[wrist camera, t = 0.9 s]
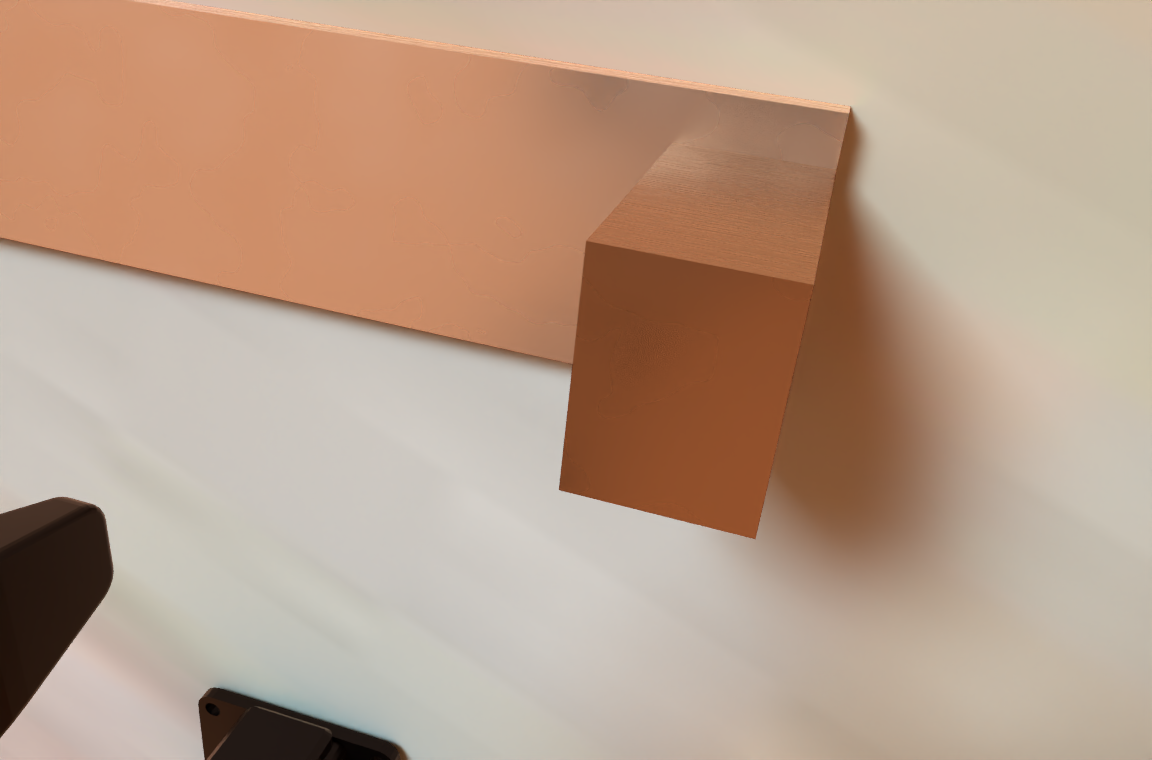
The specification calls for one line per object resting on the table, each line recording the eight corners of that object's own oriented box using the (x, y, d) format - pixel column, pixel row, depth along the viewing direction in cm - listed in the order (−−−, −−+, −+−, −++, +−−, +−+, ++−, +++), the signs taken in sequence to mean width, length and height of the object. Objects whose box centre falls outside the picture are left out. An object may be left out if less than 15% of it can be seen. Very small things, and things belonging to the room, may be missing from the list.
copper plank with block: (850, 102, 18) (830, 209, 12) (785, 388, 21) (743, 592, 15) (-241, -66, 23) (-643, -53, 17) (-173, 180, 26) (-498, 267, 20)
